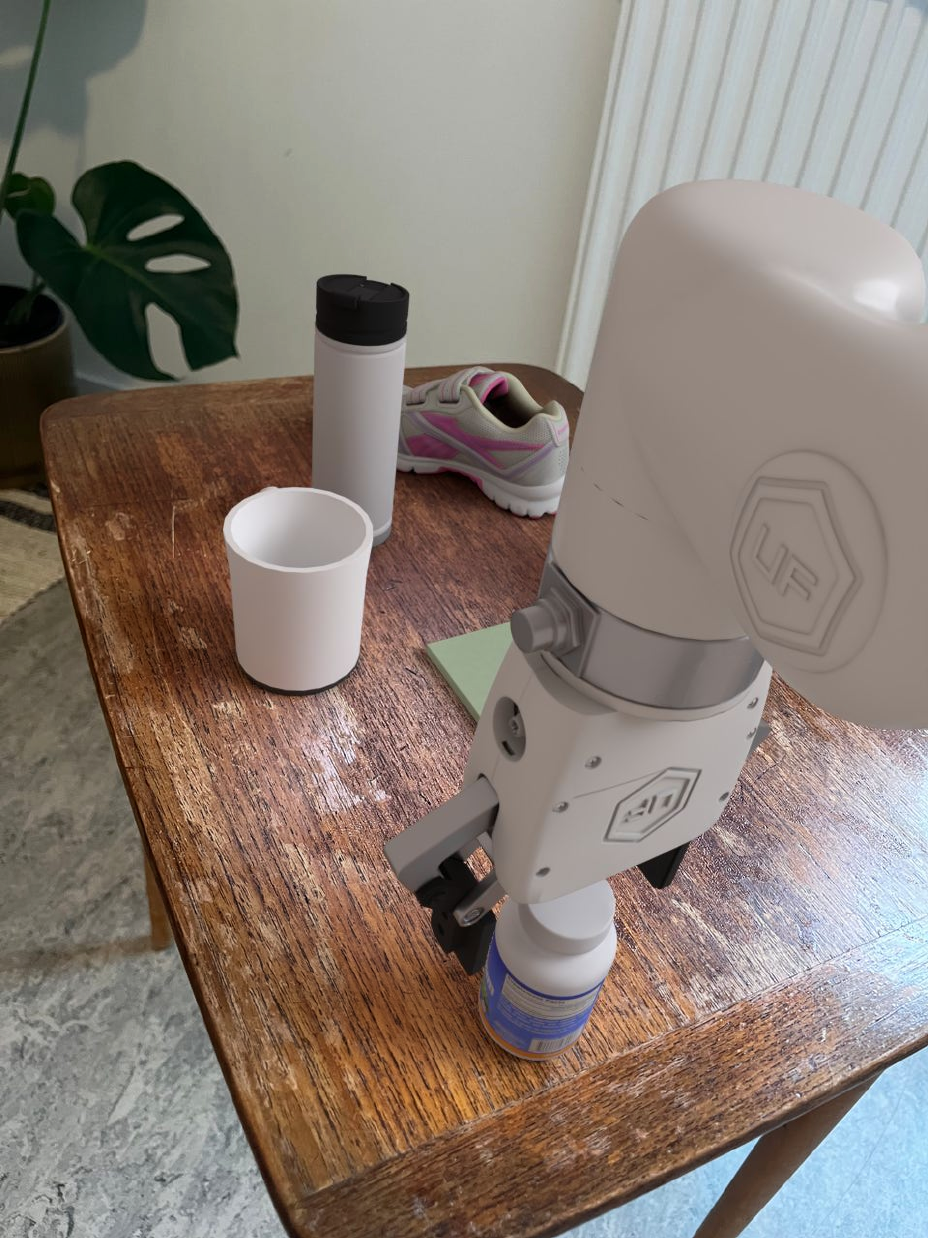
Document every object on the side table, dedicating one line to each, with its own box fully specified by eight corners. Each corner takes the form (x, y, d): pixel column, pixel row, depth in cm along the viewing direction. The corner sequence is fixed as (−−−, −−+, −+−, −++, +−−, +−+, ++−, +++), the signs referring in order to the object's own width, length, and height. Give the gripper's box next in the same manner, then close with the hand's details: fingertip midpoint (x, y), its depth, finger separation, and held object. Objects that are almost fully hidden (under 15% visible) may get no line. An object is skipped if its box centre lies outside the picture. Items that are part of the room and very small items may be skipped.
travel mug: (295, 540, 74) (296, 284, 61) (331, 499, 79) (339, 253, 66) (370, 563, 73) (388, 307, 60) (402, 519, 78) (424, 274, 65)
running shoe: (374, 407, 92) (380, 307, 85) (592, 483, 86) (615, 381, 79) (323, 446, 85) (325, 341, 79) (554, 531, 79) (577, 424, 73)
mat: (689, 742, 62) (692, 734, 62) (533, 801, 57) (535, 792, 56) (569, 612, 71) (571, 604, 71) (425, 652, 66) (426, 644, 65)
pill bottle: (498, 943, 49) (528, 824, 43) (598, 984, 48) (644, 869, 42) (459, 1037, 45) (486, 921, 39) (568, 1085, 44) (613, 973, 38)
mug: (386, 681, 63) (397, 555, 57) (254, 716, 59) (249, 585, 53) (326, 584, 70) (329, 461, 64) (205, 609, 67) (195, 482, 60)
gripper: (479, 771, 25) (416, 1066, 36) (925, 615, 32) (758, 899, 43) (359, 593, 29) (336, 904, 41) (773, 493, 37) (657, 778, 48)
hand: (554, 901), depth 42 cm, fingers open, 9 cm apart
